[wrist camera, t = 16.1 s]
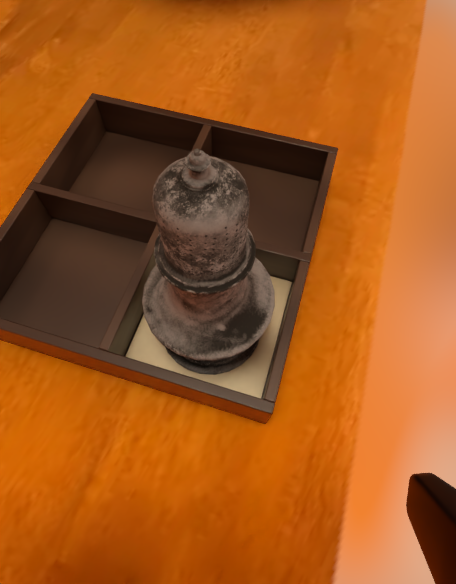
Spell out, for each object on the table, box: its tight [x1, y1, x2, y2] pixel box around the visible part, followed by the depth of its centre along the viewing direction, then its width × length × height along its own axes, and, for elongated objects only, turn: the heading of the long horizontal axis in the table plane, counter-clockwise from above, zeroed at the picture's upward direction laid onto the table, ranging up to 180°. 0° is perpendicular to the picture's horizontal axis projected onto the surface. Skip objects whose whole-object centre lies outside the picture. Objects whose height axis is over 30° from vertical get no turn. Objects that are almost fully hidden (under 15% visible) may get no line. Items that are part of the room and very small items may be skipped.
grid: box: [0, 93, 338, 424], centre depth 22 cm, size 16×16×3 cm
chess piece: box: [142, 148, 275, 375], centre depth 15 cm, size 6×6×12 cm
